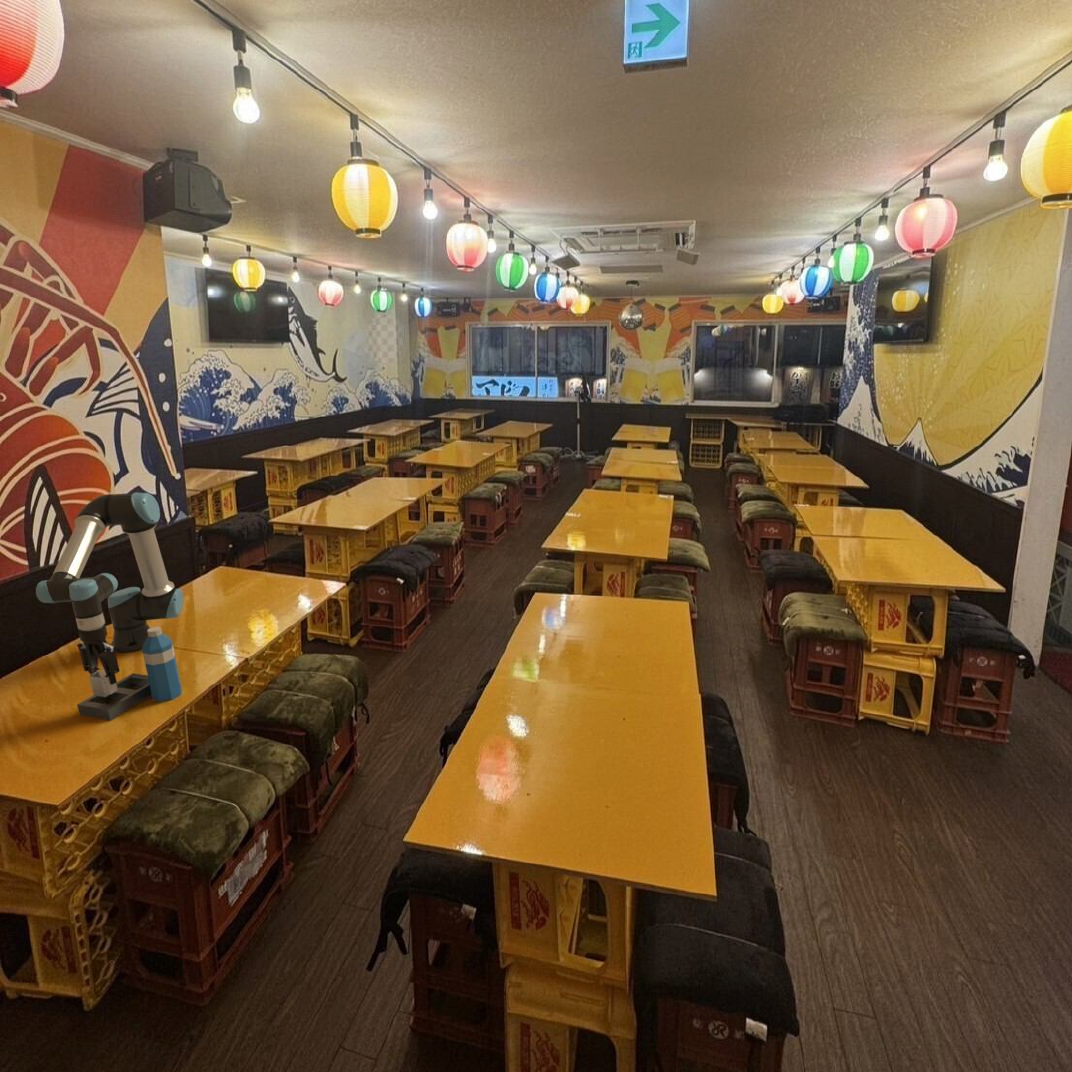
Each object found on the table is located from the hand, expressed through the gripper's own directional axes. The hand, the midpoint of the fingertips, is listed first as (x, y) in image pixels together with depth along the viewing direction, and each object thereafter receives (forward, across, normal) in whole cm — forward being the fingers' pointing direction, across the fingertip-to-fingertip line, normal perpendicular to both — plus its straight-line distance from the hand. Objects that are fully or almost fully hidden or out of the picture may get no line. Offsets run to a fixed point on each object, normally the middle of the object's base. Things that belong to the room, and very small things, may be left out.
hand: (106, 691), depth 225 cm
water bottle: (+7, +12, +12) cm, 18 cm away
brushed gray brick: (0, 0, 0) cm, 0 cm away
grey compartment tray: (+7, 0, +5) cm, 8 cm away
